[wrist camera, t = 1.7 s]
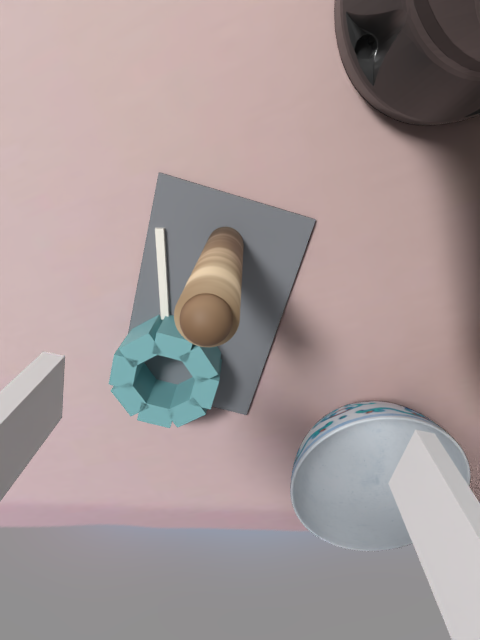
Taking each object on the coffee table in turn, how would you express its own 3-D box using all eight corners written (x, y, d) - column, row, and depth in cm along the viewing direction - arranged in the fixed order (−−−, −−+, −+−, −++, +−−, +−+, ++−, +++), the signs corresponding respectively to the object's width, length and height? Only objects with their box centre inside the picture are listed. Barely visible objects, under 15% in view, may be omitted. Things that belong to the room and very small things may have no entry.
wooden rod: (212, 222, 32) (176, 288, 16) (248, 232, 32) (247, 308, 16) (203, 256, 33) (161, 351, 17) (238, 266, 33) (228, 369, 17)
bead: (133, 305, 35) (119, 322, 31) (230, 330, 35) (228, 351, 32) (117, 387, 38) (103, 412, 34) (206, 409, 39) (202, 435, 35)
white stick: (156, 227, 32) (154, 228, 31) (164, 227, 32) (163, 228, 31) (162, 317, 35) (160, 319, 35) (169, 317, 35) (168, 319, 35)
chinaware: (287, 490, 43) (295, 555, 36) (278, 374, 38) (285, 425, 30) (424, 481, 42) (460, 547, 35) (436, 361, 37) (482, 410, 30)
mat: (159, 172, 31) (158, 172, 30) (315, 219, 32) (315, 219, 31) (119, 381, 38) (118, 383, 38) (246, 412, 39) (246, 415, 39)
